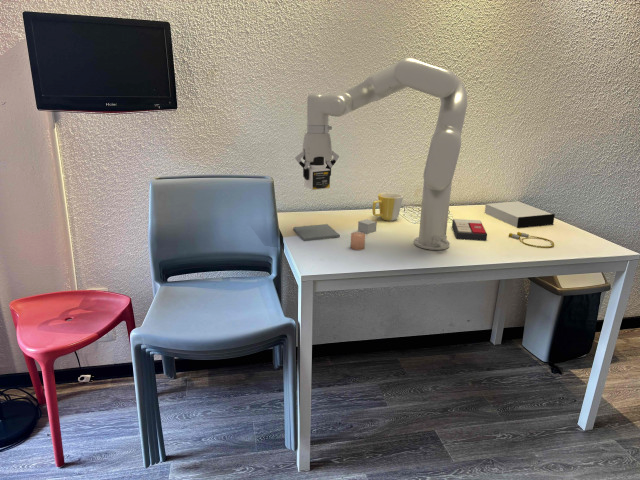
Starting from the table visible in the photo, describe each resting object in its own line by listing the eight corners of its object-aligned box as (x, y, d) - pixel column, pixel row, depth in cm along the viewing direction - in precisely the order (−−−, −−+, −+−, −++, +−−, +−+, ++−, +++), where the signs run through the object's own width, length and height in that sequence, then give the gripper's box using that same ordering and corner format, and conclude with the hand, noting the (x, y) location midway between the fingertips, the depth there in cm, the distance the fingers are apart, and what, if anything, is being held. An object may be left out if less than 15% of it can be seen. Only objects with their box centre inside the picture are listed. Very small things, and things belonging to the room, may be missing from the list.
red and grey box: (457, 230, 184) (452, 217, 198) (456, 241, 185) (451, 227, 199) (487, 232, 183) (481, 218, 196) (486, 243, 184) (479, 229, 198)
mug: (394, 214, 214) (395, 191, 211) (405, 221, 205) (407, 197, 202) (365, 217, 210) (366, 193, 206) (375, 224, 201) (377, 199, 197)
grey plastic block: (376, 231, 192) (376, 222, 191) (367, 234, 189) (367, 224, 188) (366, 228, 196) (367, 219, 194) (357, 231, 193) (358, 221, 191)
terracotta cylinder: (367, 249, 173) (367, 235, 172) (353, 250, 172) (354, 237, 170) (361, 244, 178) (361, 231, 176) (348, 246, 176) (348, 232, 174)
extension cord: (532, 234, 193) (533, 229, 192) (561, 248, 179) (562, 243, 178) (505, 236, 190) (506, 231, 189) (532, 250, 176) (533, 245, 175)
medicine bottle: (312, 190, 178) (312, 157, 174) (304, 186, 184) (304, 154, 180) (330, 188, 181) (330, 155, 177) (321, 184, 187) (321, 152, 183)
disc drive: (517, 229, 199) (519, 217, 197) (483, 214, 219) (485, 203, 217) (553, 225, 204) (555, 214, 203) (516, 211, 224) (518, 200, 223)
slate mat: (339, 237, 185) (339, 234, 184) (304, 241, 180) (304, 238, 180) (326, 226, 197) (326, 224, 197) (293, 229, 192) (293, 227, 192)
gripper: (336, 128, 182) (335, 175, 188) (291, 129, 176) (291, 177, 182) (344, 130, 175) (342, 179, 181) (297, 131, 169) (297, 182, 175)
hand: (317, 178), depth 181 cm, fingers closed on medicine bottle, 7 cm apart
